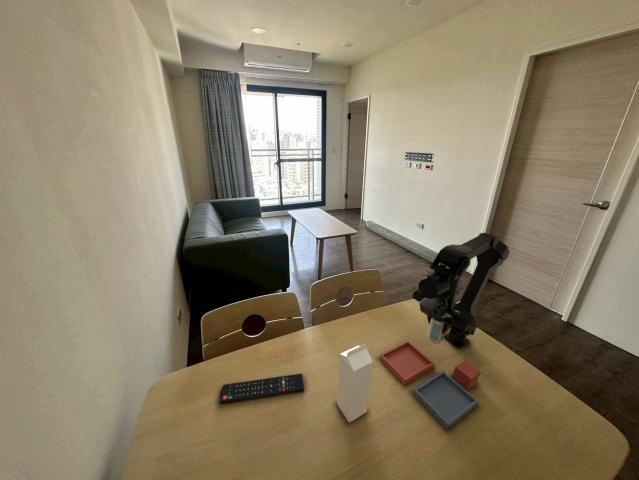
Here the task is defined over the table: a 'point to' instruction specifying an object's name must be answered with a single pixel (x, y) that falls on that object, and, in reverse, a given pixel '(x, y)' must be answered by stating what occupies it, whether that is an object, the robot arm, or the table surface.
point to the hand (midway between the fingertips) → (436, 328)
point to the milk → (354, 382)
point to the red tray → (406, 362)
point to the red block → (466, 375)
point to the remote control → (261, 388)
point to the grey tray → (445, 399)
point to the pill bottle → (436, 329)
